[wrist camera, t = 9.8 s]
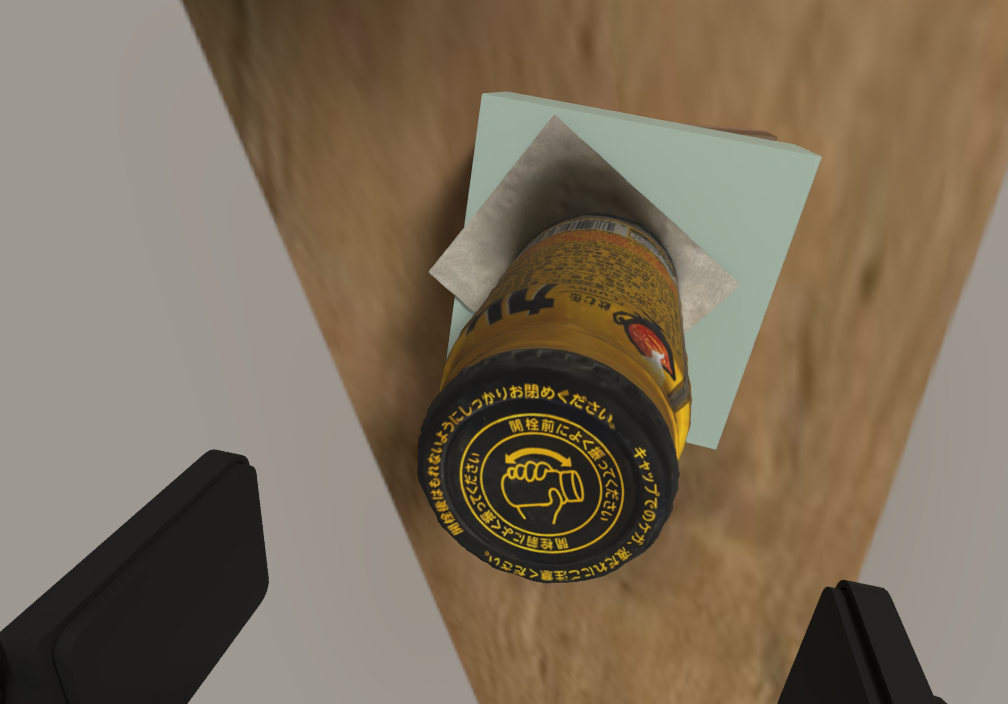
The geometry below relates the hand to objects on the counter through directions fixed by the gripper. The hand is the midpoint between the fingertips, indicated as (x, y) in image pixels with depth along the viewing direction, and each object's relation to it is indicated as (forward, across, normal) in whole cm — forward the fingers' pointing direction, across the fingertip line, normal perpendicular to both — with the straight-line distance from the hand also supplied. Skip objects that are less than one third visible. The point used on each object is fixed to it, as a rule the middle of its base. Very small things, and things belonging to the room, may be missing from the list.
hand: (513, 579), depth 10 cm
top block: (+18, 0, 0) cm, 18 cm away
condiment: (+14, +1, -1) cm, 14 cm away
